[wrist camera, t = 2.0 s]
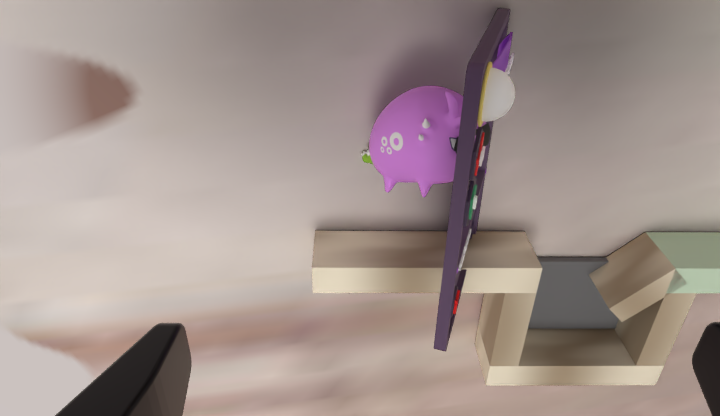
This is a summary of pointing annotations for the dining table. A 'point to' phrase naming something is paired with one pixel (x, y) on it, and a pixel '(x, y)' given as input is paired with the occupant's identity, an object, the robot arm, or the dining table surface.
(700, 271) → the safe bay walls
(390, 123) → the purple monster board
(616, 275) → the trap lane
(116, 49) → the dining table surface
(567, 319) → the mats
